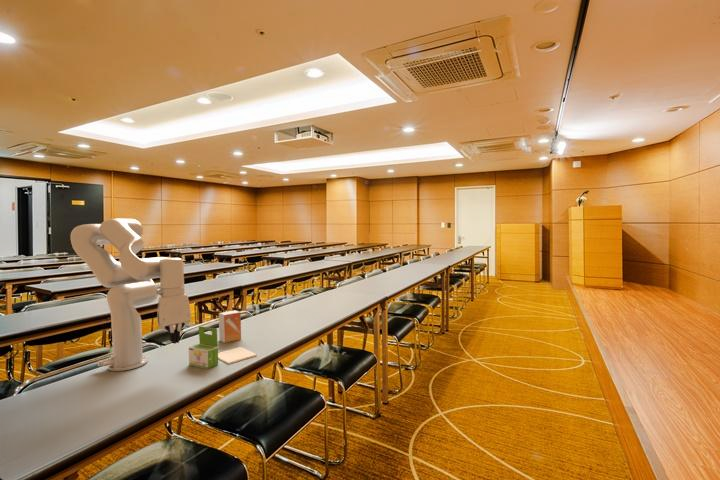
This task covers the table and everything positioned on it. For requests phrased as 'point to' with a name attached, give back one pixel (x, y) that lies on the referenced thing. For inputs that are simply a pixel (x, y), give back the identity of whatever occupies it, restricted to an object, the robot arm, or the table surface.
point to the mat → (235, 355)
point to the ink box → (205, 350)
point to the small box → (229, 326)
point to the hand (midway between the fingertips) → (175, 342)
